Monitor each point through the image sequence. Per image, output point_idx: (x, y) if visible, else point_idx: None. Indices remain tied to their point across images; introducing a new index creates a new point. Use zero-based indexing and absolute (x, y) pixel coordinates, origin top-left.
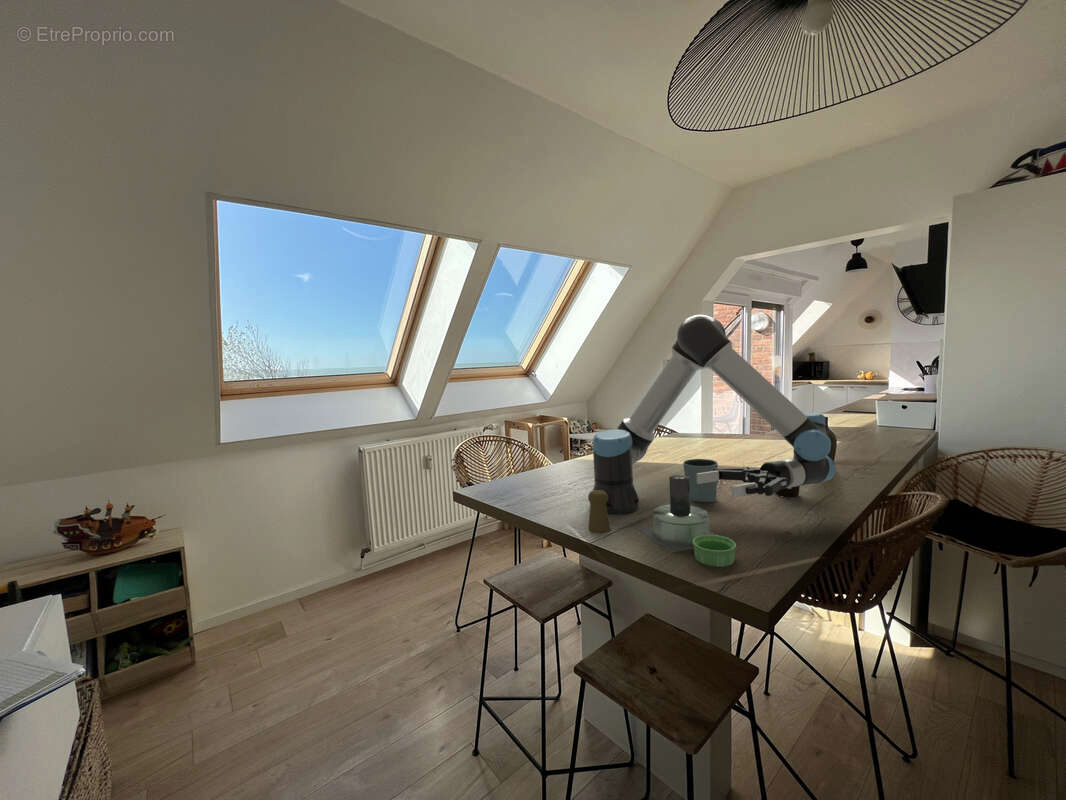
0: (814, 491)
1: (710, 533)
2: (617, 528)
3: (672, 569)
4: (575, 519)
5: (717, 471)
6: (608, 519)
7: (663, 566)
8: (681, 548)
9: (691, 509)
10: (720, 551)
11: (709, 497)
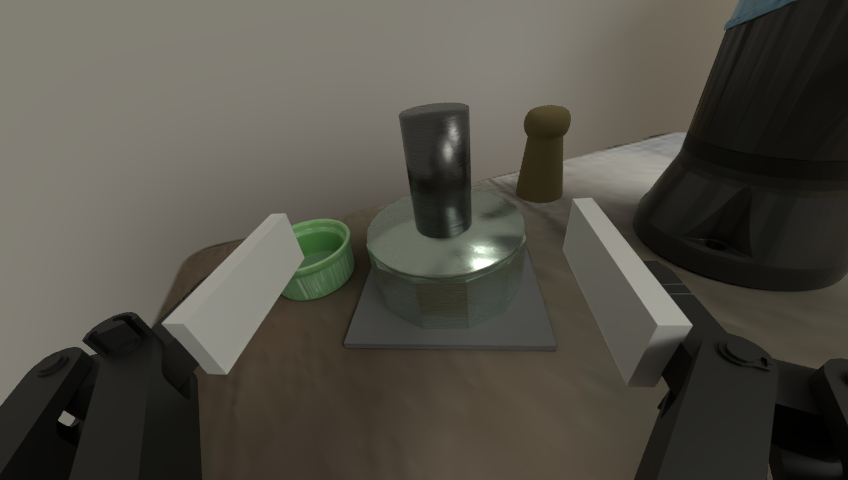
0: None
1: (417, 334)
2: (545, 211)
3: (347, 221)
4: (615, 179)
5: (648, 313)
6: (533, 176)
7: (362, 216)
8: None
9: (452, 249)
10: None
11: None
